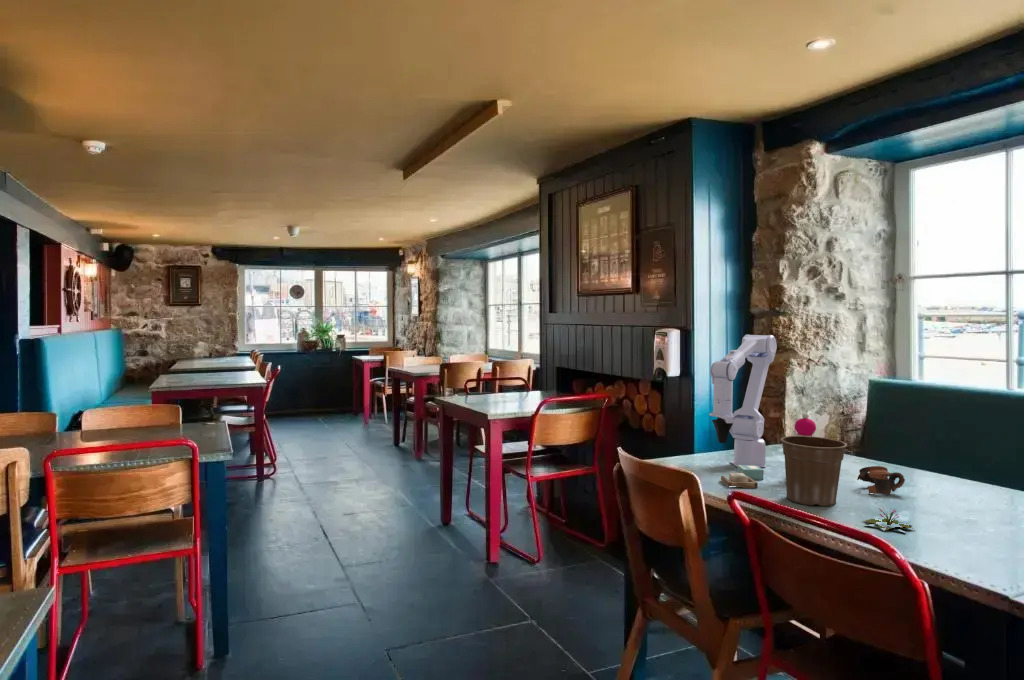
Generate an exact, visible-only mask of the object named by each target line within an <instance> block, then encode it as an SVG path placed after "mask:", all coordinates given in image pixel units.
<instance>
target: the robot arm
mask: <svg viewBox="0 0 1024 680" xmlns="http://www.w3.org/2000/svg"><path fill="white" fill-rule="evenodd" d="M777 345H778V344H777V340H776V337H775V336H774V335H772V334H769V335H768V334H767V335H764V334H763V335H761V334H760V335H758V334H745V335H743V337H742V339H741V345H739V347H738V348H737V349H731V350H729V352H728V353H727V354H726V355H725V356H724V357H723V358H722V359H720V361H719V360H716V361H715V362H713V363H712V364H711V366H710V369H709V374H710V377H711V384H712V385H713V400H712V401H713V408H712V409H713V410H712V412H709V413H708V414H709V416H710V417H716V419H712V420H711V421H712V423H713V426H714V429H715V432H716V436H717V441H718V443H719V444H726V443H727V441H728V438H729V433H730V435H731V436H732V438H733V439H734V447H733V448H734V450H733V451H734V452H733V453H734V454H733V460H729V463H731V464H732V465H734V466H735V467H737V466H738V465H757V466H759V467H760V468H766V467H767V465H766V441H765V440H764V439H763V438H762V436H763V435H764V430H765V429H764V428H765V427H764V425H765V418H764V416H763V415H762V414H761V413H760V411H759V408H760V403H761V400H762V395H763V391H764V389H765V383H766V379H767V375H768V370H769V367H770V364H772V363H773V362H774V360H775V357H776V352H777V348H778V346H777ZM746 359H747V361H748V362H750V363H751V364H752V367H751V371H750V374H749V379H748V383H747V386H746V391H745V395H744V399H743V403H742V406H741V408H738V409H736V410H735V411H734V412H733V401H734V400H733V394H734V391H733V389H734V384H733V383H734V380H736V378H737V373H739V369H740V368H741V367H743V366H744V365H745V363H746Z"/></svg>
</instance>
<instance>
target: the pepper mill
mask: <svg viewBox="0 0 1024 680" xmlns="http://www.w3.org/2000/svg"><path fill="white" fill-rule="evenodd" d="M794 431H795V432H796V434H795V436H811V437H815V435H814V433H815V432H816V431H817V425H816V423H815V421H814V420H812V419H810V417H809V414H808V413H806V412H804V413H803V414H802V418H799V419H797V420H796V421H795V422H794Z"/></svg>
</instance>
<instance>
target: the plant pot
mask: <svg viewBox="0 0 1024 680" xmlns="http://www.w3.org/2000/svg"><path fill="white" fill-rule="evenodd" d="M780 442H781V443H782V453H783V455H784V468H785V471H784V472H785V487H786V498H787V499H788V501H789V500H790V501H791V502H794V503H795V504H796V503H797V504H800V505H804V506H805V505H806V506H815V505H818V506H819V507H831V506H833V505H835V504H836V503H837V496H838V489H839V482H840V477H841V476H840V474H841V467H842V461H843V460H844V456H845V449H846V448H847V446H848V444H847V443H846V442H844V441H841V440H837V439H832V438H828V437H819V436H814V437H811V436H797V435H789V436H784V437H781V438H780Z"/></svg>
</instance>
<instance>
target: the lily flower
mask: <svg viewBox="0 0 1024 680" xmlns="http://www.w3.org/2000/svg"><path fill="white" fill-rule="evenodd" d="M877 509H878V510H879V512H882V513H883V514H881V513H879V516H880V517H881V519H882V522H887V525H890V526H891V524H892V523H895V524H898V523H900V522H899V520H897V519H898V518H900V516H899V515H898V513H897V514H896V515H894V514H895V513H896V512H897V510H896V509H893V510H892V511H889V513H888V510H887V511H886V509H885V508H884V507H882V509H883V510H884V511H883V510H882V509H881V508H880V507H878V508H877ZM891 509H892V508H891V507H890V509H889V510H891ZM888 514H889V515H888ZM883 515H884V516H883ZM893 515H894V516H893ZM890 520H891V522H890ZM892 520H893V521H892ZM863 521H864V522H865V523H866V524H865V525H868V524H876V522H881V521H879V520H875V519H872V518H870V519H866V520H863ZM887 525H886V526H887ZM899 525H900V526H902V527H900V528H901V529H904V528H903V527H906V528H905V529H907V530H909V529H908V528H912V529H914V528H913V527H911V526H908V525H904V524H899ZM876 526H877V527H878V529H880V530H881V528H885V527H886V526H884V527H882V526H883V525H882V526H880V525H878V524H877V525H876ZM889 529H891V527H886V531H888V530H889Z"/></svg>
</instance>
